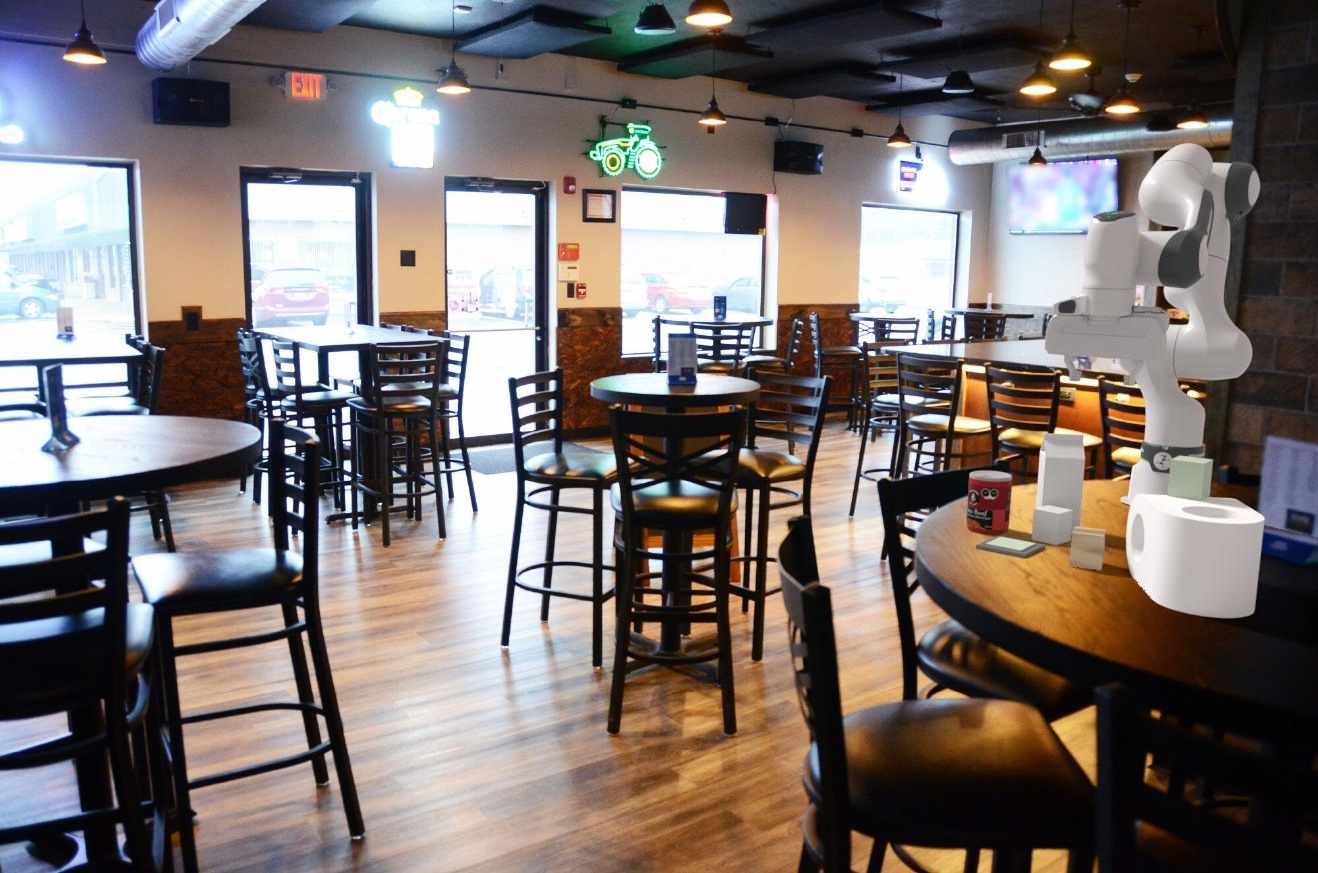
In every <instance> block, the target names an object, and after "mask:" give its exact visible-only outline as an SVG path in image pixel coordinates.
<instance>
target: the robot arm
mask: <svg viewBox="0 0 1318 873" xmlns="http://www.w3.org/2000/svg"><path fill="white" fill-rule="evenodd" d="M1260 191H1261V182H1260V178H1259V173H1258V170H1257V169H1256V168H1255V167H1254V165H1253V164H1251V163H1247V162H1241V161H1234V162H1231V163H1229V162H1213V157H1212V156H1211V153H1210V152H1209V151H1208V150H1207V149H1206V148H1204V147H1203V146H1202V145H1199V144H1196V143H1190V142H1188V143H1186V142H1185V143H1182V144H1181V143H1180V144H1178V145H1175V146H1173V147H1172V148H1171V149H1169V150H1168V151H1167V152H1165V153H1164V154H1162V156H1161V157H1160V158H1159V159H1157V161H1156V162H1155V163H1154V164H1153V165H1152V167H1151V168H1150V169H1149V171H1148V172H1147V174H1146V176H1145V177H1143V179H1142V182H1141V184H1140V188H1139V190H1138V195H1137V197H1138V198H1137V199H1138V203H1139V204H1138V205H1139V207H1140V210H1141V211H1142V212H1143V214H1144V215H1145V217H1147V218H1148V219H1149V220H1150V221H1151V222H1154V223H1155V224H1156V225H1157V224H1158V225H1161V226H1166V227H1176V228H1178V229H1177V230H1167V231H1166V230H1164V231H1163V230H1160V231H1159V230H1157V231H1156V230H1155V231H1153V230H1151V231H1150V230H1149V231H1148V230H1147V231H1144V230H1143V231H1140V223H1139V222H1140V221H1139V216H1138V213H1136V212H1134V211H1129V210H1113V211H1112V210H1111V211H1104V212H1100V213H1097V214H1096V215H1094V216H1092V218H1091V220H1090V222H1089V225H1088V229H1087V233H1086V234H1087V235H1086V241H1085V247H1084V253H1083V254H1084V255H1083V256H1084V257H1083V268H1084V272H1085V275H1084V279H1083V282H1082V284H1081V294H1080V295H1078V296H1077V295H1076V296H1075V295H1074V296H1071V297H1070V298H1067V299H1063V300H1062V299H1061V300H1059V301H1055V302H1054V303H1053V304H1052V313H1053V314H1055V315H1053V316H1051V317H1050V319H1049V321H1048V323H1047V327H1046V332H1045V338H1044V349H1045V351H1046V353H1047V354H1049V355H1057V356H1058V355H1059V356H1064V357H1063V362H1064V363H1065V366H1066V368H1067V370H1068V372H1069V377H1068V378H1069V382H1070V381H1071V382H1080V381H1081V379H1082V377H1081V375H1082V370H1077V368H1076V366H1075V361H1077V357H1087V358H1088V357H1089V358H1099V359H1100V358H1102V359H1115V360H1116V361H1117V362H1118V365H1119V366H1120V368H1121V369H1122V370H1123V371H1125V372H1126V373H1127V374H1124V375H1123V386H1128V387H1129V386H1130V387H1131V386H1132V387H1133V386H1135V385H1136V384H1137V386H1138V387H1139V389H1140V392H1141V394H1142V397H1143V401H1144V406H1145V407H1144V408H1145V424H1144V425H1145V428H1144V439H1143V440H1142V441H1141V446H1140V455H1139V456H1140V458H1141V459H1140V461H1139V462H1137V463H1135V464H1134V465H1132V468H1131V475H1130V480H1129V486H1128V487H1129V488H1128V495H1125V496H1122V497H1120V502H1121V503H1123V504H1126V505H1129V507H1130V506H1131V503H1132V500H1133V499H1134V497H1135V496H1136V495H1137V494H1152V495H1167V494H1168V484H1169V473H1170V462H1171V459H1173V458H1175V457H1178V456H1188V457H1197V458H1205V455H1206V444H1205V443H1203V441H1204V431H1205V430H1204V429H1205V421H1206V412H1205V409H1204V406H1203V405H1202V404H1201V402H1199V401H1198V400H1197V399H1195V398H1194V397H1192V396H1190V395H1188V394H1187V393H1185V392H1183V390H1182V389H1181V388H1180V385H1179V382H1178V379H1189V380H1190V379H1193V380H1204V381H1218V380H1230V379H1237V378H1239V377H1240V376H1242V375H1243V374H1244V373H1245V371H1246V370H1247V369H1248V368H1249V366H1250V364H1251V362H1252V358H1253V347H1252V342H1251V341H1250V338H1249V337H1248V336H1247V335H1246V333H1245V332H1243V331H1242V330H1241V329H1240V328H1238V327H1237V326H1236V325H1235V323H1234V322H1233V321H1232V320H1231V318H1230V316H1229V314H1228V312H1227V310H1226V307H1225V301H1224V300H1225V297H1224V295H1225V284H1226V283H1225V282H1226V276H1227V272H1228V271H1227V270H1228V265H1229V259H1230V250H1231V226H1234V225H1235V224H1237V223H1239V221H1240V219H1241V218H1243V217H1244V216H1247V214H1249V212H1251V210H1252V209H1253V208H1254V206H1255V205H1256V202H1257V199H1258V197H1259V194H1260ZM1137 286H1144V287H1145V286H1147V287H1163V295H1164V298H1165V299H1166V301H1167V302H1168V304H1170V305H1171V306H1172V307H1174V308H1176V309H1178V310H1179V311H1181V312H1183V313H1185V314H1187V315H1188V316H1189V319H1188V322H1187V324H1170V322H1171V321H1170V318H1171V317H1170V314H1169V312H1168V311H1166V310H1165V309H1163V308H1162V307H1160V306H1152V307H1151V306H1144V305H1143V306H1142V305H1141V306H1140V305H1136V295H1137ZM1208 497H1212V492H1210V495H1209V496H1208Z"/></svg>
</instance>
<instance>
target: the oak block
mask: <svg viewBox="0 0 1318 873" xmlns="http://www.w3.org/2000/svg"><path fill="white" fill-rule="evenodd" d="M1106 532H1107V531H1106V529H1102V528H1094V527H1093V528H1092V527H1083V526H1080V527H1076V526H1075V527H1074V530H1073V532H1072V535H1071V539H1070V541H1071V543H1070V556H1069V566H1070V568H1077V567H1079V568H1078V569H1084V570H1092V569H1096V570H1095V571H1102V570H1103V565H1104V557H1105V556H1104V555H1105V545H1106V534H1107V533H1106Z"/></svg>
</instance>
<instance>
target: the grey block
mask: <svg viewBox="0 0 1318 873" xmlns="http://www.w3.org/2000/svg"><path fill="white" fill-rule="evenodd" d="M1032 514H1033V515H1032V516H1033V517H1032V527H1031V528H1032V530H1031V540H1032V541H1035V542H1040V543H1043V544H1044V543H1045V544H1049V545H1054V546H1058V545H1062V544H1064V543H1068V542H1070V541H1071V539H1072V535H1071V526H1072V514H1073V510H1070V509H1065V508H1060V507H1055V506H1050V505H1046V506H1042V507H1038V508H1036V507H1035V508H1033V513H1032Z"/></svg>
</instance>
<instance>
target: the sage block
mask: <svg viewBox="0 0 1318 873" xmlns="http://www.w3.org/2000/svg"><path fill="white" fill-rule="evenodd" d="M1213 463H1214V459H1211V458H1206V457H1204V458H1197V457H1188V456H1178V457H1175V458H1173V459H1171V462H1170V473H1169V484H1168V494H1167V496H1171V497H1178V498H1185V499H1192V500H1199V501H1201V500H1203V499H1205V498H1207V497H1208V496H1209V495H1210V493H1211V483H1212V474H1213Z"/></svg>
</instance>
